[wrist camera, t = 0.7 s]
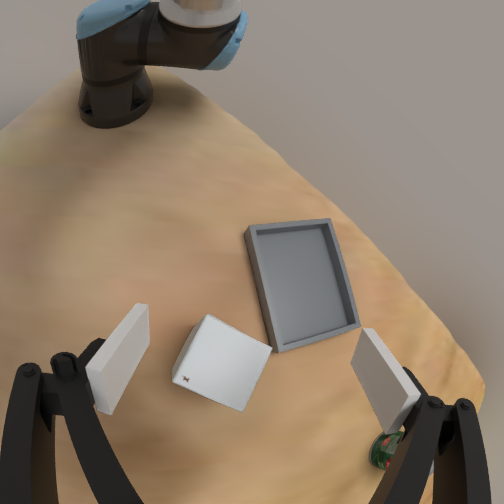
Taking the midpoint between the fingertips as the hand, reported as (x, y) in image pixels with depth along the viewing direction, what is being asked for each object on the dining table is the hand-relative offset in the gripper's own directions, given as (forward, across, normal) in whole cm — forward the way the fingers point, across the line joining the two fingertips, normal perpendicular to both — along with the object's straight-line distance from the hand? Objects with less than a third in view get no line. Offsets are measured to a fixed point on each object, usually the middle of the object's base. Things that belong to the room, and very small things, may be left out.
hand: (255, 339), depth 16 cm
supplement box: (+17, -4, -14) cm, 23 cm away
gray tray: (+26, +8, -5) cm, 28 cm away
